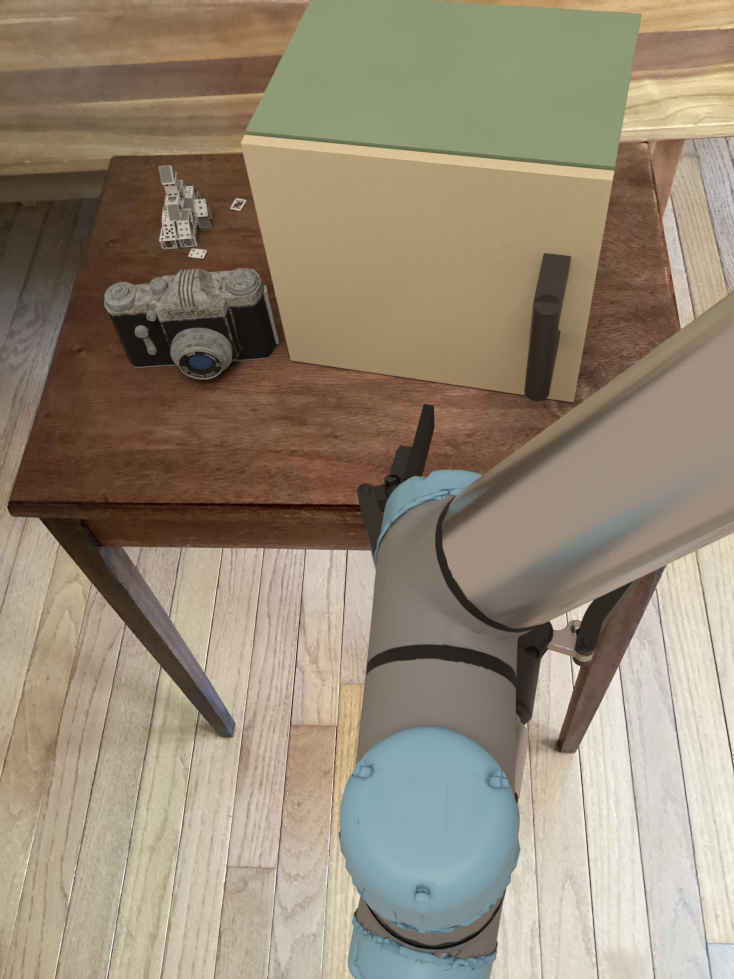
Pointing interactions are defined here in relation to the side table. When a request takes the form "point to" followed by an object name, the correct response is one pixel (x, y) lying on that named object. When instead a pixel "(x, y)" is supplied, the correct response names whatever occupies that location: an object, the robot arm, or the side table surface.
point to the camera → (194, 320)
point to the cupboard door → (431, 261)
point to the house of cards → (184, 213)
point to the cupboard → (455, 80)
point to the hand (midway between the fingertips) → (522, 429)
